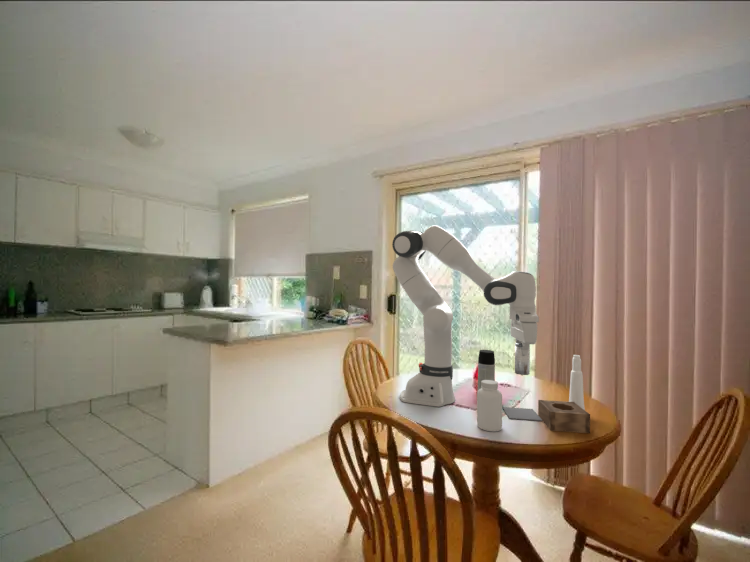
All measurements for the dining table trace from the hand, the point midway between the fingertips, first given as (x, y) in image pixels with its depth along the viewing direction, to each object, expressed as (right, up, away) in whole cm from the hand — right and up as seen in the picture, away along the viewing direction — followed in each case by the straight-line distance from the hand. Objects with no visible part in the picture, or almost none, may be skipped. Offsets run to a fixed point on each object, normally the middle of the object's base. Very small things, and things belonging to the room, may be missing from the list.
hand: (522, 352), depth 125 cm
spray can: (-8, -23, +16) cm, 29 cm away
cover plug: (0, -8, 0) cm, 8 cm away
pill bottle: (-16, -22, -12) cm, 30 cm away
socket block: (+10, -23, -9) cm, 26 cm away
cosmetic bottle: (+20, -23, 0) cm, 31 cm away
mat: (0, -23, 0) cm, 23 cm away
